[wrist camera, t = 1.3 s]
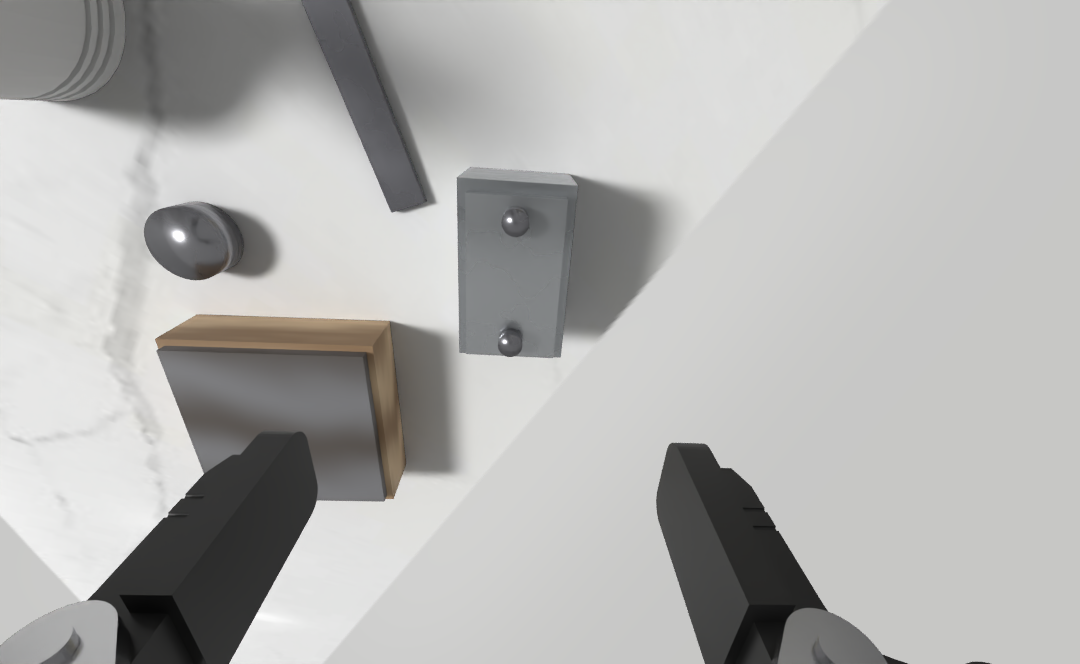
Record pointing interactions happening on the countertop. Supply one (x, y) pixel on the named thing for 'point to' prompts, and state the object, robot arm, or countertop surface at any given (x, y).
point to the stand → (292, 394)
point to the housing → (514, 260)
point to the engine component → (59, 47)
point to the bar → (365, 100)
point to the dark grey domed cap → (193, 240)
